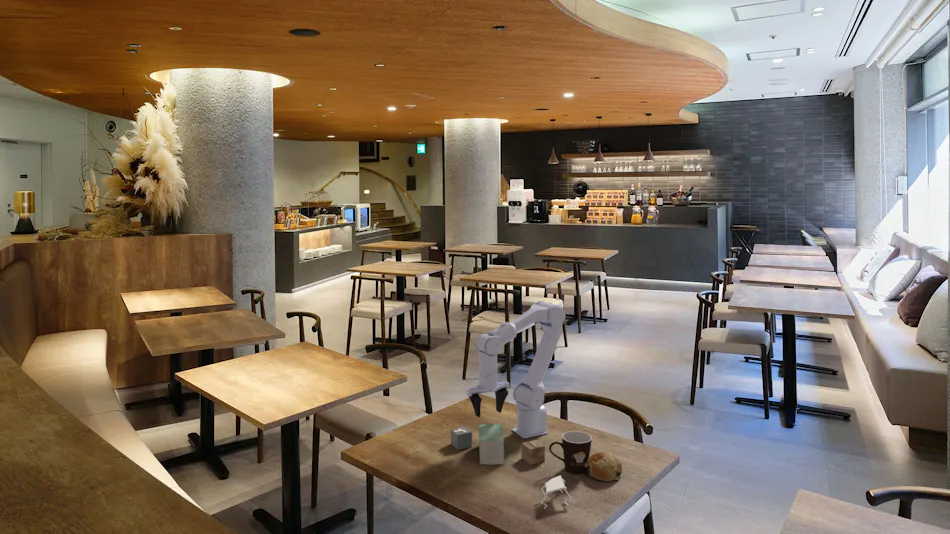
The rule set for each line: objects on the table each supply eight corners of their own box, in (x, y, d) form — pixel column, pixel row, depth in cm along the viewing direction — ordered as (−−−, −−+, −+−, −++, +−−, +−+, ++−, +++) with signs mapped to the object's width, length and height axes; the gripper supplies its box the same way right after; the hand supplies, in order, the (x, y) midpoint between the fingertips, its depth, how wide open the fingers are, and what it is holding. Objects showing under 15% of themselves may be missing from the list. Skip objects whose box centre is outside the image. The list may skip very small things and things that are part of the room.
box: (502, 445, 199) (502, 422, 198) (504, 464, 186) (504, 441, 185) (478, 445, 199) (478, 423, 198) (479, 465, 186) (479, 441, 185)
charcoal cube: (465, 441, 202) (464, 425, 202) (471, 447, 198) (471, 431, 197) (450, 444, 200) (450, 428, 199) (457, 450, 196) (457, 434, 195)
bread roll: (606, 496, 174) (620, 475, 171) (576, 471, 178) (589, 451, 175) (618, 481, 182) (631, 461, 180) (589, 458, 187) (602, 438, 184)
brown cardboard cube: (535, 455, 192) (536, 439, 191) (544, 461, 188) (544, 445, 187) (521, 458, 190) (521, 442, 189) (530, 465, 186) (530, 448, 185)
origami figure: (571, 513, 159) (571, 495, 158) (538, 509, 161) (538, 491, 160) (574, 490, 171) (574, 473, 170) (543, 487, 172) (544, 470, 172)
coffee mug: (593, 465, 185) (594, 433, 184) (588, 478, 177) (589, 445, 176) (554, 459, 189) (555, 428, 188) (548, 472, 181) (548, 439, 180)
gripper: (473, 379, 190) (473, 422, 192) (514, 372, 196) (514, 413, 198) (463, 373, 196) (463, 414, 198) (503, 366, 202) (503, 406, 205)
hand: (488, 413), depth 199 cm, fingers open, 7 cm apart
